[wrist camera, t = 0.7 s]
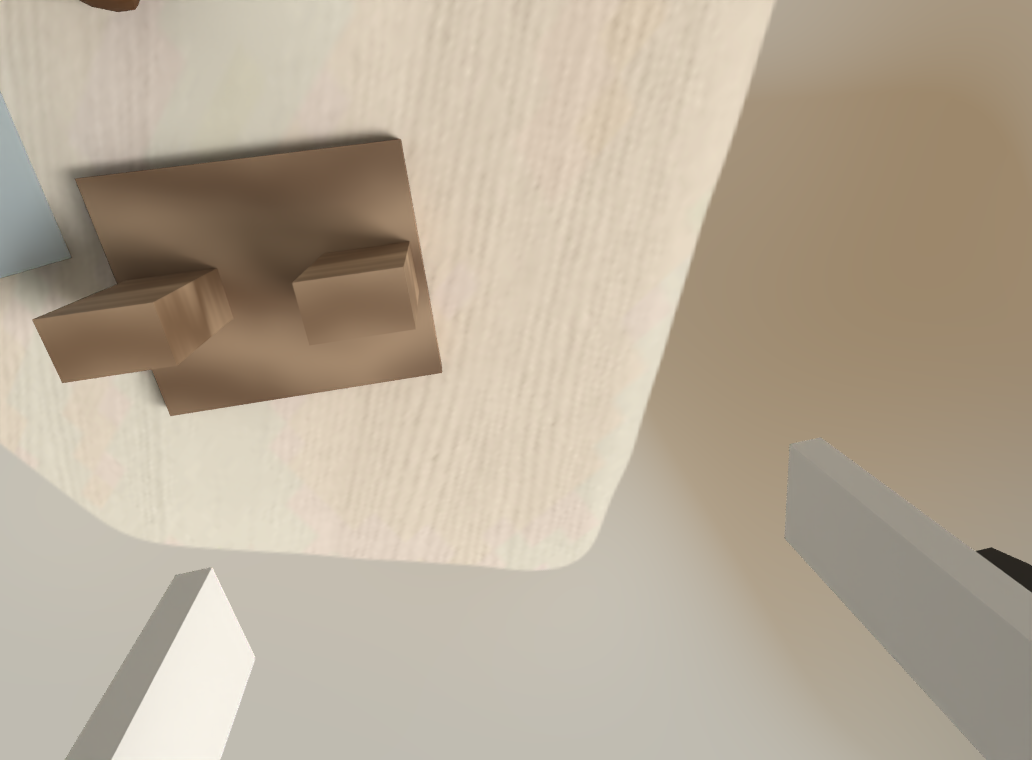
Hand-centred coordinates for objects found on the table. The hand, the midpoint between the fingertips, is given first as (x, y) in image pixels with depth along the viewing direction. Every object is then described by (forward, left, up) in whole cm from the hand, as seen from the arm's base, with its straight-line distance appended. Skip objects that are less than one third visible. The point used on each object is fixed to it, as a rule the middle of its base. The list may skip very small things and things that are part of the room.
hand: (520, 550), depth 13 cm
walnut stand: (-2, -11, -25) cm, 27 cm away
